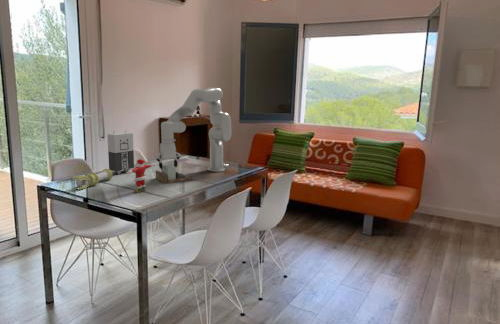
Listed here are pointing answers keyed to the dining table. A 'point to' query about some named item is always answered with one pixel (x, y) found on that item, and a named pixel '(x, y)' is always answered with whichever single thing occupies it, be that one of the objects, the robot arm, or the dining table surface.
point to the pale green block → (169, 171)
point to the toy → (120, 151)
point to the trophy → (92, 178)
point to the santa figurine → (140, 175)
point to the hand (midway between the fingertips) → (168, 167)
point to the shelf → (179, 178)
